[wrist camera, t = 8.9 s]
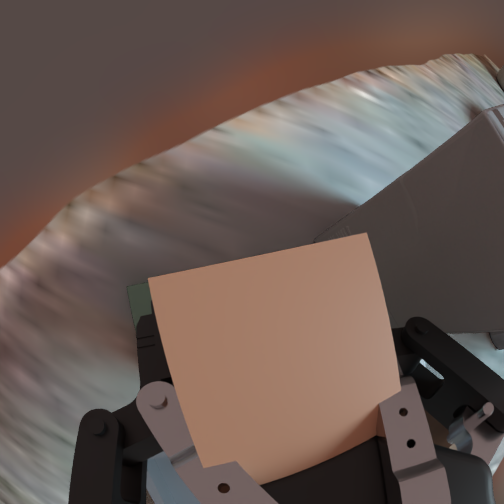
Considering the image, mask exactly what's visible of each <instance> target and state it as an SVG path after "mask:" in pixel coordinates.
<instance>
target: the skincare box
mask: <svg viewBox="0 0 504 504" xmlns="http://www.w3.org/2000/svg"><path fill="white" fill-rule="evenodd" d="M366 232H367V235H368V238H369V241H370V245H371V248H372V252H373V255H374V259H375V262H376V266H377V270H378V274H379V278H380V281H381V285H382V290H383V294H384V298H385V302H386V307H387V311H388V316H389V321H390V325H391V328H400V327H404V326H405V324H406V322H407V321H408V319H410V318H412V317H423V318H425V319H427V320H429V321H430V322H431V323H433V324H434V325H435V326H437V327H438V328H439V329H441V330H442V331H443V332H445V333H478V332H495V331H504V104H502V105H499V106H495V107H492V108H489V109H486V110H483V111H482V112H481V113H480V114H479V115H478V116H476V117H475V118H474V119H473V120H472V121H471V122H469V123H468V124H467V125H466V126H464V127H463V128H462V129H461V130H460V131H458V132H457V133H456V134H455V135H453V136H452V137H451V138H450V139H448V140H447V141H446V142H445V143H443V144H442V145H441V146H439V147H438V148H437V149H436V150H434V151H433V152H432V153H431V154H429V155H428V156H427V157H425V158H424V159H423V160H422V161H420V162H419V163H418V164H416V165H415V166H414V167H413V168H411V169H410V170H409V171H407V172H406V173H404V174H403V175H401V176H400V177H399V178H397V179H396V180H395V181H393V182H392V183H391V184H389V185H388V186H387V187H385V188H384V189H383V190H381V191H380V192H379V193H378V194H376V195H375V196H374V197H372V198H371V199H369V200H368V201H367V202H365V203H364V204H362V205H361V206H360V207H358V208H357V209H355V210H354V211H353V212H351V213H350V214H349V215H347V216H346V217H344V218H343V219H342V220H340V221H339V222H337V223H336V224H335V225H333V226H332V227H330V228H329V229H328V230H326V231H325V232H323V233H322V234H321V235H319V236H318V237H317V238H316V239H314V242H315V243H319V242H324V241H329V240H333V239H338V238H343V237H347V236H352V235H357V234H361V233H366Z"/></svg>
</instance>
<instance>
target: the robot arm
mask: <svg viewBox="0 0 504 504" xmlns="http://www.w3.org/2000/svg"><path fill="white" fill-rule="evenodd" d="M151 311H152V314H149V315H144V316H141V317H140V319H139V321H138V323H137V326H136V336H137V348H138V350H137V351H138V363H139V373H140V385H141V386H140V391H139V393H138V395H137V397H136V398H135V400H134V401H133V402H131V403H130V404H129V405H127V406H125V407H123V408H121V409H119V410H117V411H115V412H112V413H111V412H109V411H107V410H105V409H94V410H91V411H89V412H88V413H86V414H85V415H84V416H83V418H82V420H81V422H80V426H79V431H78V436H77V442H76V447H75V453H74V460H73V467H72V474H71V482H70V492H69V503H68V504H146V484H147V462H148V459H149V458H151V457H153V456H155V455H157V454H159V453H161V452H163V451H164V452H165V453H166V455H167V456H168V458H169V460H170V461H171V464H172V466H173V468H174V469H175V471H176V472H177V474H178V475H179V476H180V478H181V479H182V480H183V482H184V483H185V484H186V486H187V487H188V488H189V489H190V491H191V492H192V493H193V494H194V496H195V497H196V498H197V499H198V501H199V502H200V503H201V504H496V503H495V499H494V494H493V484H492V483H493V482H492V473H491V470H490V468H489V466H488V465H489V463H490V461H491V459H492V458H493V456H494V454H495V452H496V450H497V448H498V446H499V445H500V443H501V441H502V439H503V437H504V380H503V379H502V378H501V377H500V376H499V375H497V374H496V373H495V372H494V371H493V370H491V369H490V368H489V367H488V366H487V365H485V364H484V363H483V362H482V361H480V360H479V359H478V358H477V357H475V356H474V355H473V354H472V353H470V352H469V351H468V350H467V349H465V348H464V347H463V346H461V345H460V344H459V343H458V342H456V341H455V340H454V339H452V338H451V337H450V336H449V335H447V334H446V333H445V332H443V331H442V330H441V329H439V328H438V327H437V326H435V325H434V324H433V323H431V322H430V321H429V320H427V319H425V318H423V317H412V318H410V319H408V321H407V322H406V324H405V326H404V327H400V328H391V331H392V336H393V341H394V347H395V352H396V358H397V365H398V371H399V378H400V386H401V391H399V392H398V393H396V394H394V395H393V396H391V397H389V398H388V399H386V400H384V401H382V402H380V403H379V407H378V417H377V426H376V432H377V435H375V436H374V437H372V438H370V439H368V440H367V441H365V442H363V443H361V444H359V445H357V446H355V447H353V448H351V449H349V450H347V451H345V452H343V453H341V454H339V455H337V456H335V457H333V458H330V459H328V460H326V461H324V462H322V463H319V464H317V465H314V466H312V467H310V468H307V469H305V470H302V471H300V472H297V473H294V474H292V475H289V476H286V477H283V478H280V479H277V480H274V481H271V482H268V483H265V484H262V485H259V484H258V483H257V482H256V481H255V480H254V479H253V478H252V477H251V476H250V475H249V474H248V473H247V472H246V471H245V470H244V469H243V468H242V467H241V466H240V465H239V464H238V463H237V461H233V462H229V463H225V464H220V465H216V466H211V467H207V468H203V466H202V463H201V461H200V458H199V456H198V453H197V451H196V448H195V446H194V443H193V440H192V438H191V435H190V432H189V429H188V427H187V424H186V421H185V418H184V415H183V412H182V409H181V406H180V403H179V400H178V397H177V394H176V390H175V387H174V384H173V380H172V377H171V374H170V370H169V367H168V363H167V359H166V356H165V352H164V348H163V344H162V341H161V337H160V333H159V328H158V324H157V320H156V316H155V311H154V307H153V302H152V300H151ZM421 359H423V360H424V361H425V362H427V363H428V364H429V365H430V366H431V367H433V368H434V369H435V370H436V371H438V372H439V373H440V374H441V375H442V376H443V378H444V379H439V378H438V377H437V376H435V375H434V374H433V373H432V372H431V371H429V370H428V369H427V368H426V367H424V366H423V365H422V364H421V363H420V361H421ZM424 409H425V410H426V411H427V412H428V413H429V414H430V415H432V416H433V417H434V418H435V419H436V420H437V421H438V422H440V423H441V424H442V425H443V426H444V427H445V428H446V429H448V430H449V434H448V435H447V442H448V443H449V444H455V445H456V448H457V450H454V449H450V448H447V447H443V446H440V445H437V444H433V440H432V436H431V433H430V429H429V425H428V422H427V418H426V415H425V411H424ZM223 486H229V487H230V490H229V492H227V493H221V492H220V490H221V487H223Z"/></svg>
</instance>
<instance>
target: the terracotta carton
mask: <svg viewBox="0 0 504 504" xmlns="http://www.w3.org/2000/svg"><path fill="white" fill-rule="evenodd" d="M148 282H149V287H150V292H151V297H152V302H153V307H154V311H155V316H156V320H157V324H158V328H159V333H160V337H161V341H162V344H163V348H164V352H165V356H166V359H167V363H168V367H169V370H170V374H171V377H172V380H173V384H174V387H175V390H176V394H177V397H178V400H179V403H180V406H181V409H182V412H183V415H184V418H185V421H186V424H187V427H188V429H189V432H190V435H191V438H192V440H193V443H194V446H195V448H196V451H197V453H198V456H199V458H200V461H201V463H202V466H203V468H207V467H211V466H216V465H220V464H225V463H229V462H233V461H237V463H238V464H239V465H240V466H241V467H242V468H243V469H244V470H245V471H246V472H247V473H248V474H249V475H250V476H251V477H252V478H253V479H254V480H255V481H256V482H257V483H258V484H259V485H262V484H265V483H268V482H271V481H274V480H277V479H280V478H283V477H286V476H289V475H292V474H294V473H297V472H300V471H302V470H305V469H307V468H310V467H312V466H314V465H317V464H319V463H322V462H324V461H326V460H328V459H330V458H333V457H335V456H337V455H339V454H341V453H343V452H345V451H347V450H349V449H351V448H353V447H355V446H357V445H359V444H361V443H363V442H365V441H367V440H368V439H370V438H372V437H374V436H375V435H377V432H376V426H377V417H378V407H379V403H380V402H382V401H384V400H386V399H388V398H389V397H391V396H393V395H394V394H396V393H398V392H399V391H401V386H400V378H399V371H398V365H397V358H396V352H395V347H394V341H393V336H392V331H391V325H390V321H389V316H388V311H387V307H386V302H385V298H384V294H383V290H382V285H381V281H380V278H379V274H378V270H377V266H376V262H375V259H374V255H373V252H372V248H371V245H370V241H369V238H368V235H367V232H366V233H361V234H357V235H352V236H347V237H343V238H338V239H333V240H329V241H324V242H319V243H314V244H310V245H305V246H300V247H295V248H291V249H286V250H281V251H276V252H272V253H267V254H262V255H257V256H253V257H248V258H243V259H238V260H233V261H229V262H224V263H219V264H214V265H209V266H204V267H200V268H195V269H190V270H185V271H180V272H175V273H170V274H166V275H161V276H156V277H151V278H148ZM229 490H230V487H229V486H223V487H221V490H220V492H221V493H227V492H229Z"/></svg>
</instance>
